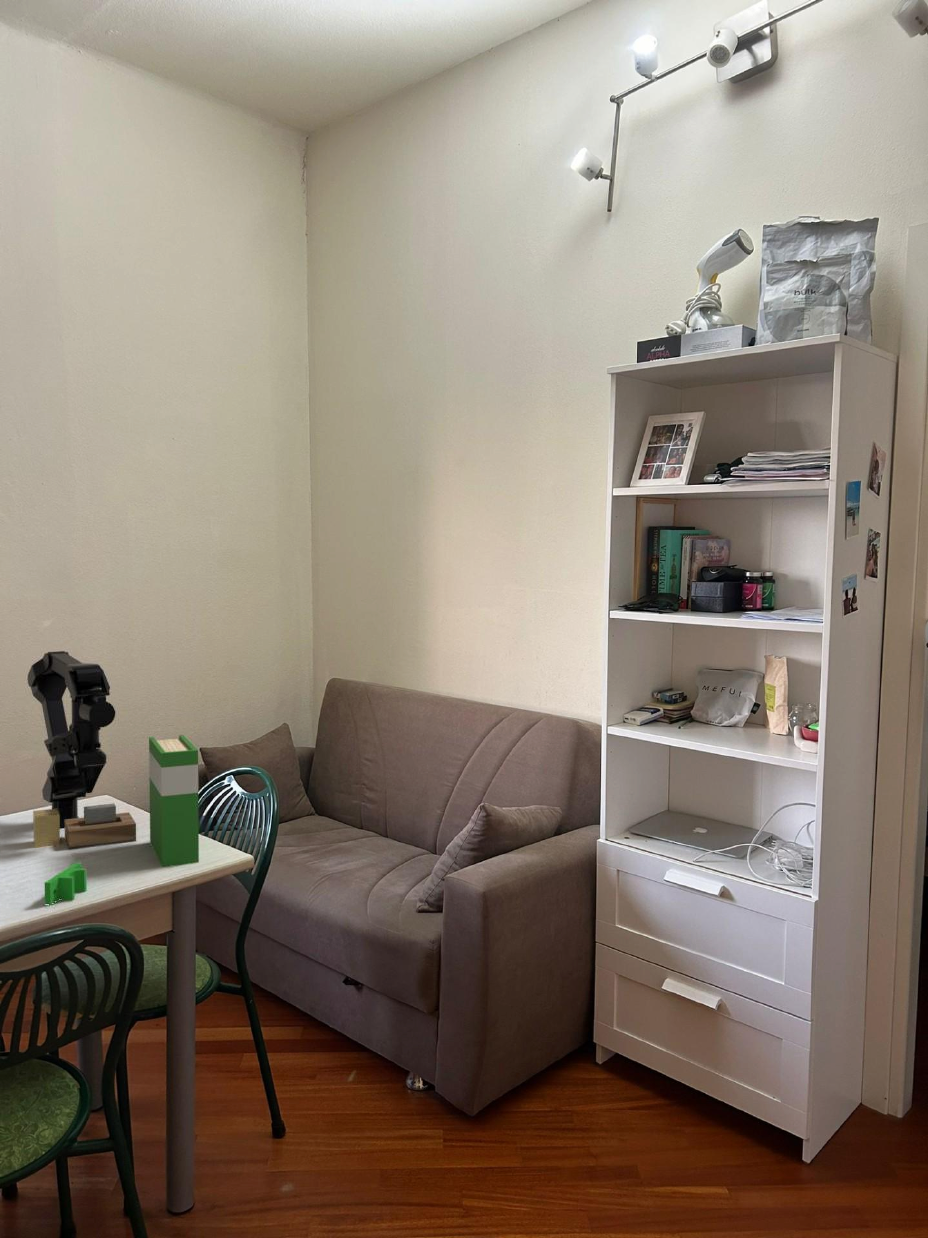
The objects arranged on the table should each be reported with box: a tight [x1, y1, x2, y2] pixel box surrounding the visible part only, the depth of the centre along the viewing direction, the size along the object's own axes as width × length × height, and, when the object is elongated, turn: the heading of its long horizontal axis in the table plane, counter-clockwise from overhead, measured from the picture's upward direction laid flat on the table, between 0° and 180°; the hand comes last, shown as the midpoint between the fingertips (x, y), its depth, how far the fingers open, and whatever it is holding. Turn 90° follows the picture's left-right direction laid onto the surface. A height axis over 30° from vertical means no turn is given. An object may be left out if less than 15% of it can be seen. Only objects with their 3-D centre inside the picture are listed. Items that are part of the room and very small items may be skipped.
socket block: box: [64, 811, 137, 850], centre depth 212 cm, size 10×14×4 cm
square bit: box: [32, 808, 61, 849], centre depth 208 cm, size 5×5×7 cm
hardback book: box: [148, 734, 200, 868], centre depth 203 cm, size 18×7×24 cm, turn 26°
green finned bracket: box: [44, 862, 87, 906], centre depth 178 cm, size 11×4×5 cm, turn 174°
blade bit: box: [83, 802, 117, 826], centre depth 212 cm, size 2×6×7 cm, turn 118°
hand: (86, 788), depth 212 cm, fingers open, 9 cm apart
